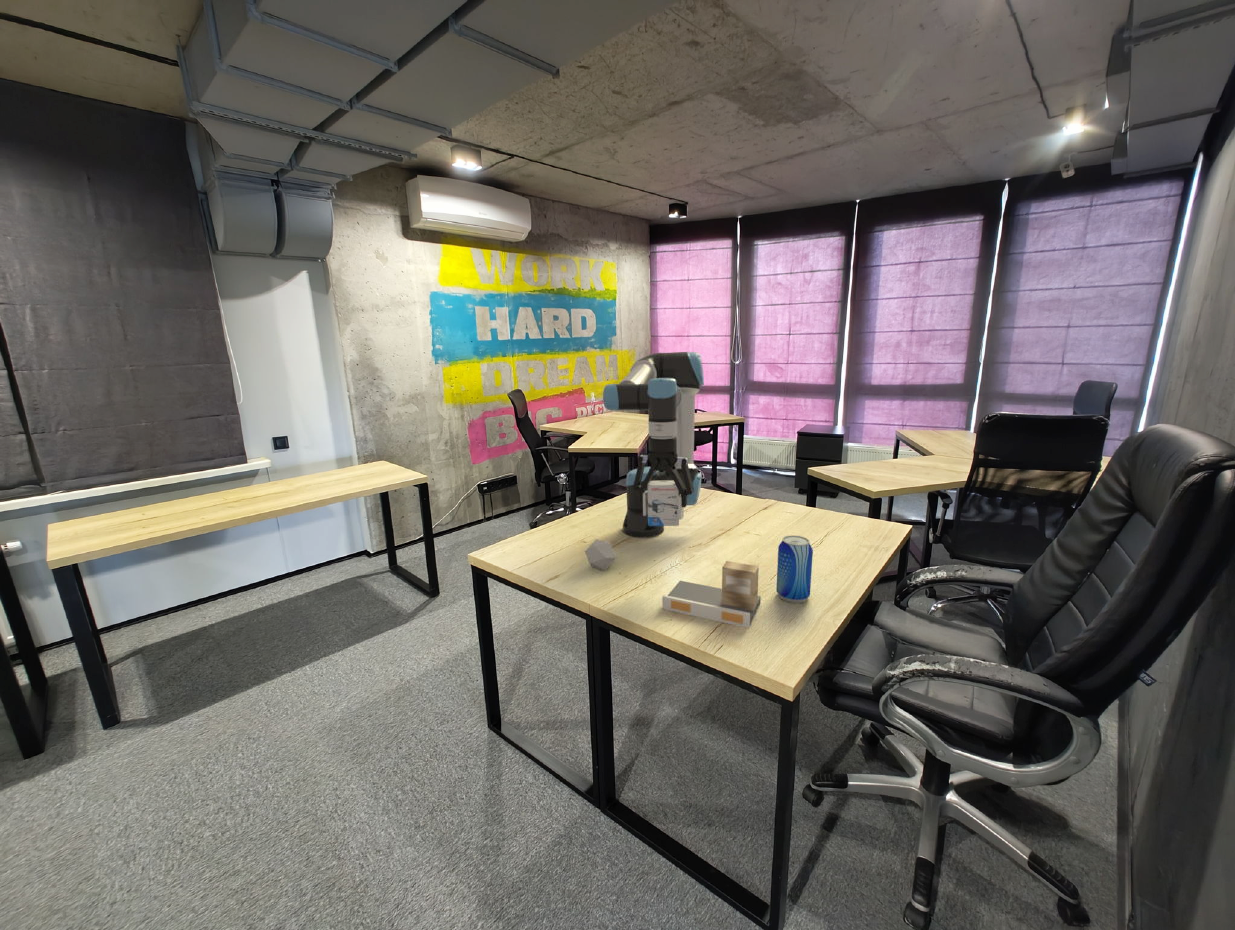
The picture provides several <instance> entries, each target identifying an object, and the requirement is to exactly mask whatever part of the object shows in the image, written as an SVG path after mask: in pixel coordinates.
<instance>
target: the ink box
mask: <svg viewBox="0 0 1235 930" xmlns="http://www.w3.org/2000/svg"><path fill="white" fill-rule="evenodd" d="M678 496H679V490H678V488H677V486H676V484H675V482H674V480H673V481H649V483H648V484H647V501H648V525H649V526H664V527H672V526H673V527H679V525H680V520H679V519H678Z"/></svg>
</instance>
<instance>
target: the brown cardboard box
mask: <svg viewBox="0 0 1235 930" xmlns="http://www.w3.org/2000/svg"><path fill="white" fill-rule="evenodd" d="M759 567H760V566H759V565H753V564H746V563H741V562H736V561H729V560H726V561H725V562H724V564H723V565H722V569H721V570H722V571H721V572H722V573H721V575H722V576H721V589H722V604H724V605H729V606H734V607H739V608H744V609H748V610H753V611H754V609H755V607H756V605H757V598H758V596H759V595H758V593H759V570H760V569H759Z"/></svg>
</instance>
